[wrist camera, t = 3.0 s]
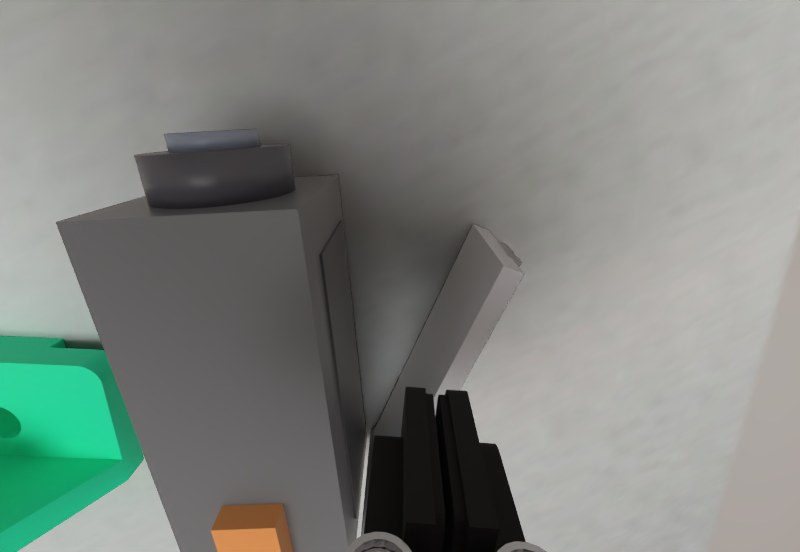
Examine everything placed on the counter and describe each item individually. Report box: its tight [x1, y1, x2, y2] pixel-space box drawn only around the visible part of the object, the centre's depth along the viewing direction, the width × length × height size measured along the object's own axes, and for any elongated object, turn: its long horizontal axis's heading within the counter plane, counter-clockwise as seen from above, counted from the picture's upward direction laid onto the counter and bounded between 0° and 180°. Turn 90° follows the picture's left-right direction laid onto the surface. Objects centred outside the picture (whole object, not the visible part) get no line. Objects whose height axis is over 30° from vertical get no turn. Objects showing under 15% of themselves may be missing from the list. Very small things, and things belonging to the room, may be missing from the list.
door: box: [361, 224, 524, 536], centre depth 19 cm, size 14×1×6 cm, turn 158°
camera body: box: [56, 129, 367, 552], centre depth 17 cm, size 18×7×9 cm, turn 3°
